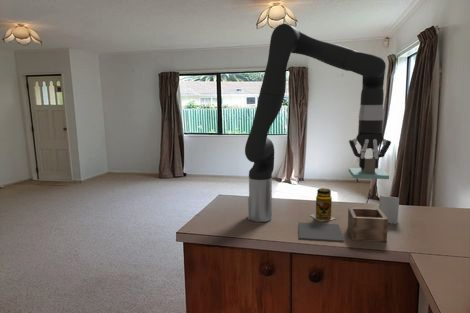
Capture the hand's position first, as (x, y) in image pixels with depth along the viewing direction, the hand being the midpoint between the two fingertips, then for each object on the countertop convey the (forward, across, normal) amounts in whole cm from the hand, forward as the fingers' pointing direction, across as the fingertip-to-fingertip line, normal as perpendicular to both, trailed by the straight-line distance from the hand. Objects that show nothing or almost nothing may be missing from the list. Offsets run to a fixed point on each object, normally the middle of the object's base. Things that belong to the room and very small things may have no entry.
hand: (368, 168), depth 112 cm
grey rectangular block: (+24, +12, +15) cm, 31 cm away
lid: (+2, 0, 0) cm, 2 cm away
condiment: (+24, -13, +16) cm, 32 cm away
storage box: (+24, +1, 0) cm, 24 cm away
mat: (+24, -15, 0) cm, 28 cm away
